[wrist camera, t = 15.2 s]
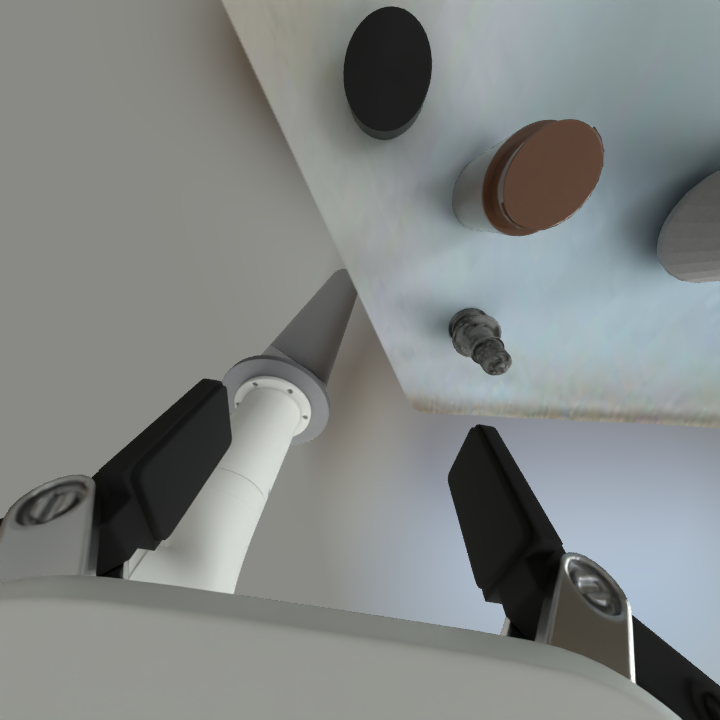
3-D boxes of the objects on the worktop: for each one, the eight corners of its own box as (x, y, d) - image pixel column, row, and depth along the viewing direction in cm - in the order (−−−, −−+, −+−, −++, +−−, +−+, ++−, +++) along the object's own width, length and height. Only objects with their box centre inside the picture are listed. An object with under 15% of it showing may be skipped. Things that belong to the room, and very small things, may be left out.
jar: (479, 244, 30) (532, 259, 19) (438, 198, 28) (471, 186, 18) (535, 188, 27) (636, 170, 16) (494, 133, 25) (576, 70, 15)
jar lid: (385, 1, 22) (385, -27, 19) (444, 79, 24) (451, 63, 21) (332, 96, 25) (326, 83, 23) (388, 158, 27) (388, 152, 25)
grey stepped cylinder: (437, 326, 36) (460, 371, 25) (474, 297, 33) (515, 333, 23) (463, 353, 37) (494, 405, 27) (499, 326, 35) (548, 373, 25)
